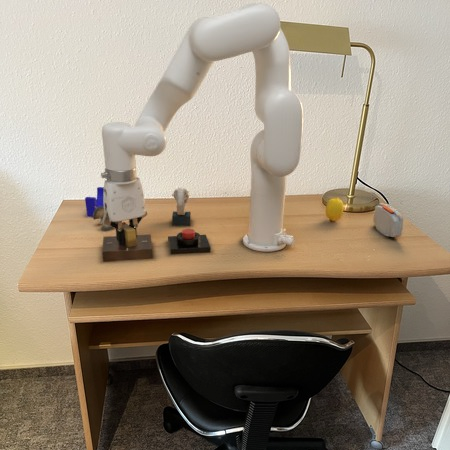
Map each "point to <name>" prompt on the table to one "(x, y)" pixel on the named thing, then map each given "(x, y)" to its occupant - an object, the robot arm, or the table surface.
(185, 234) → the button
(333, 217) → the lemon
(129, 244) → the tan bar
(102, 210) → the eagle figurine
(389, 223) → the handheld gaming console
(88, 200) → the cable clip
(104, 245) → the panel
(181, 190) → the watch
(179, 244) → the button block
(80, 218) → the table surface
